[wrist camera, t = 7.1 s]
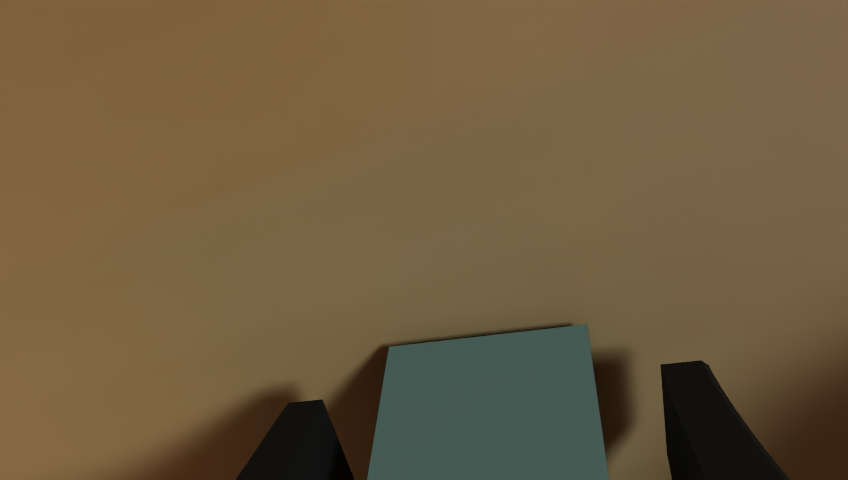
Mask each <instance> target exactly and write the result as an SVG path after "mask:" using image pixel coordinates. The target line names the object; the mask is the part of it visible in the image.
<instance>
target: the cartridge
mask: <svg viewBox="0 0 848 480" xmlns="http://www.w3.org/2000/svg"><path fill="white" fill-rule="evenodd" d="M367 480H609V476H608V469H607V462H606V455H605V448H604V440H603V433H602V426H601V419H600V412H599V405H598V398H597V391H596V384H595V377H594V370H593V363H592V356H591V349H590V342H589V335H588V328H587V324H585V325H576V326H567V327H559V328H550V329H541V330H532V331H523V332H515V333H506V334H497V335H488V336H480V337H471V338H462V339H453V340H444V341H436V342H427V343H418V344H409V345H401V346H392V347H389V350H388V356H387V362H386V368H385V374H384V380H383V386H382V392H381V398H380V404H379V410H378V416H377V423H376V429H375V435H374V441H373V447H372V453H371V459H370V465H369V471H368V477H367Z"/></svg>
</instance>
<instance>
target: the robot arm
mask: <svg viewBox="0 0 848 480" xmlns="http://www.w3.org/2000/svg"><path fill="white" fill-rule="evenodd" d="M661 376H662V390H663V404H664V417H665V431H666V445H667V455H668V460H669V465H670V471H671V476H672V480H789V478H788V477H787V476H786V475H785V474H784V472H783V471H782V470H781V469H780V467H779V466H778V465H777V464H776V462H775V461H774V460H773V459H772V457H771V456H770V455H769V454H768V452H767V451H766V450H765V449H764V447H763V446H762V445H761V444H760V442H759V441H758V440H757V438H756V437H755V436H754V434H753V433H752V432H751V430H750V429H749V428H748V426H747V425H746V423H745V422H744V421H743V419H742V418H741V416H740V415H739V413H738V412H737V411H736V409H735V408H734V406H733V405H732V403H731V402H730V400H729V399H728V397H727V396H726V394H725V393H724V391H723V390H722V388H721V386H720V385H719V383H718V381H717V380H716V378H715V376H714V375H713V373H712V371H711V369H710V367H709V365H707V364H706V363H704V362H703V361H691V362H682V363H672V364H662V365H661ZM236 480H354V478H353V475H352V473H351V470H350V468H349V465H348V463H347V460H346V458H345V455H344V453H343V450H342V448H341V445H340V443H339V440H338V437H337V435H336V432H335V430H334V427H333V425H332V422H331V420H330V417H329V415H328V412H327V410H326V407H325V405H324V402H323V400H313V401H304V402H294V403H288V404H287V406H286V407H285V408H284V410H283V411H282V413H281V414H280V415H279V417H278V418H277V420H276V421H275V423H274V424H273V426H272V427H271V429H270V430H269V432H268V433H267V435H266V436H265V438H264V439H263V441H262V442H261V444H260V445H259V446H258V448H257V449H256V451H255V452H254V454H253V455H252V457H251V458H250V460H249V461H248V463H247V464H246V466H245V467H244V468H243V470H242V471H241V473H240V474H239V476H238V477H237V478H236Z"/></svg>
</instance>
